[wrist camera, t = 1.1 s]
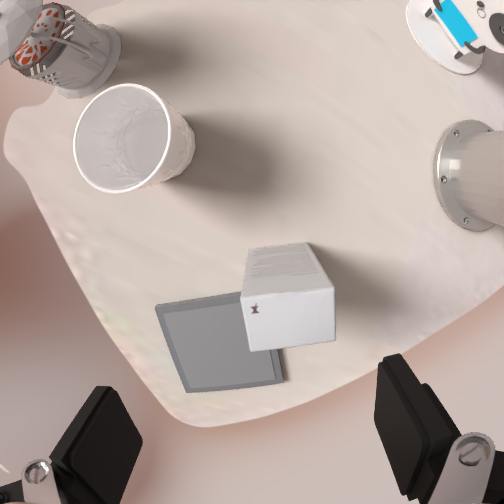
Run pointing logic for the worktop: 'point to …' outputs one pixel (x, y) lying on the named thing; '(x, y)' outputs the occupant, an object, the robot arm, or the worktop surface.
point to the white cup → (131, 140)
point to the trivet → (215, 345)
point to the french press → (57, 46)
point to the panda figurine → (457, 30)
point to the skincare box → (287, 298)
